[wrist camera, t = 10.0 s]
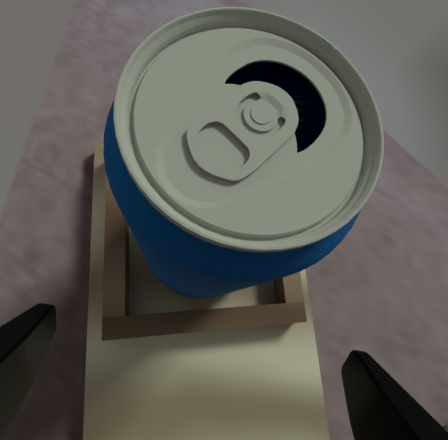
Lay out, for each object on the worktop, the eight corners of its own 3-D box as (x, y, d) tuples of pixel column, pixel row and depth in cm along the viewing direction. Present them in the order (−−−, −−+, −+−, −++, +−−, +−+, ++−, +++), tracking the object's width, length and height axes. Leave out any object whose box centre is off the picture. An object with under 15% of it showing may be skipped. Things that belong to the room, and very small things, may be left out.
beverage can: (278, 242, 18) (454, 132, 7) (200, 324, 16) (268, 359, 5) (202, 167, 19) (250, -49, 7) (118, 237, 17) (9, 89, 5)
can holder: (324, 455, 16) (349, 479, 14) (86, 497, 14) (69, 534, 12) (282, 152, 21) (295, 132, 19) (98, 149, 19) (88, 127, 17)
